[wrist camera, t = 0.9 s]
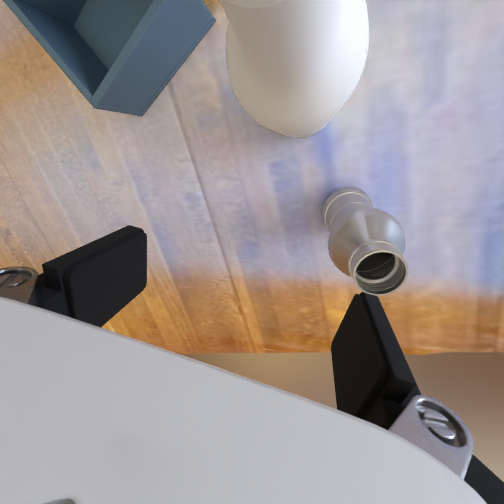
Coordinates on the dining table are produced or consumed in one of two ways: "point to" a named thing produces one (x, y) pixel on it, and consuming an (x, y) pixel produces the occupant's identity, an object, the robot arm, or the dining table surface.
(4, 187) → the dining table surface
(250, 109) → the alcohol
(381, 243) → the silver metal bottle
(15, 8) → the chest
